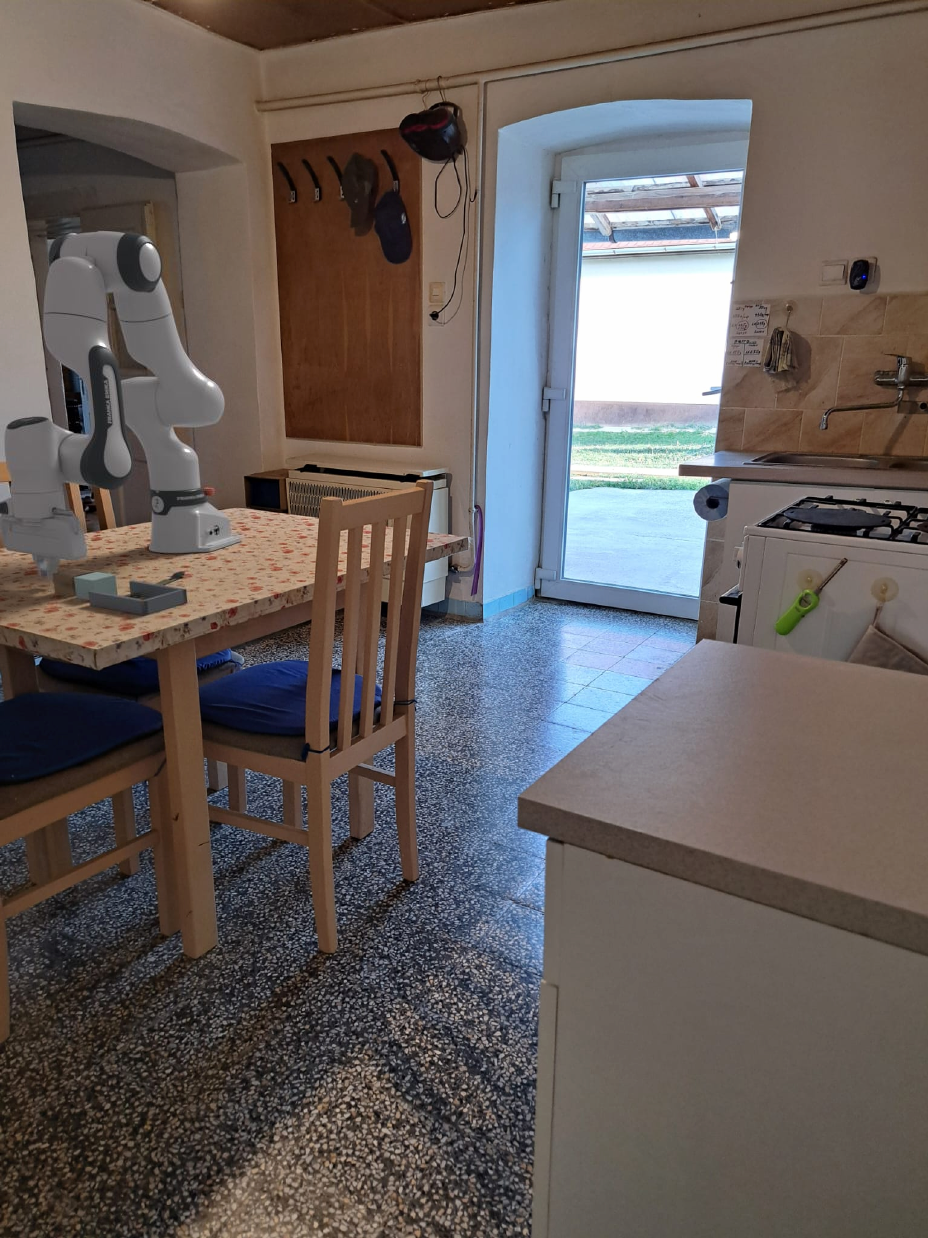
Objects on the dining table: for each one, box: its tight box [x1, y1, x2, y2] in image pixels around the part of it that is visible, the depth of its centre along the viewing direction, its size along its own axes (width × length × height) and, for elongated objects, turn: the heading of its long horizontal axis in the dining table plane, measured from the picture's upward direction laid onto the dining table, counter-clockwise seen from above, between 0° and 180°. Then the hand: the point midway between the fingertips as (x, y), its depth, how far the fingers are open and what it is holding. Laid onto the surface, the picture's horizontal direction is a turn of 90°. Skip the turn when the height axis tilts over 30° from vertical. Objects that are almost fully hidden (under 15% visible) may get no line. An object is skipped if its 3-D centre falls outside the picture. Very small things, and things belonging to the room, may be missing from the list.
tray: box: [88, 579, 188, 616], centre depth 151 cm, size 10×14×2 cm
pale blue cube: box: [74, 571, 118, 601], centre depth 156 cm, size 5×5×4 cm
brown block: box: [52, 568, 94, 598], centre depth 159 cm, size 5×5×4 cm
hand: (48, 577), depth 162 cm, fingers closed
